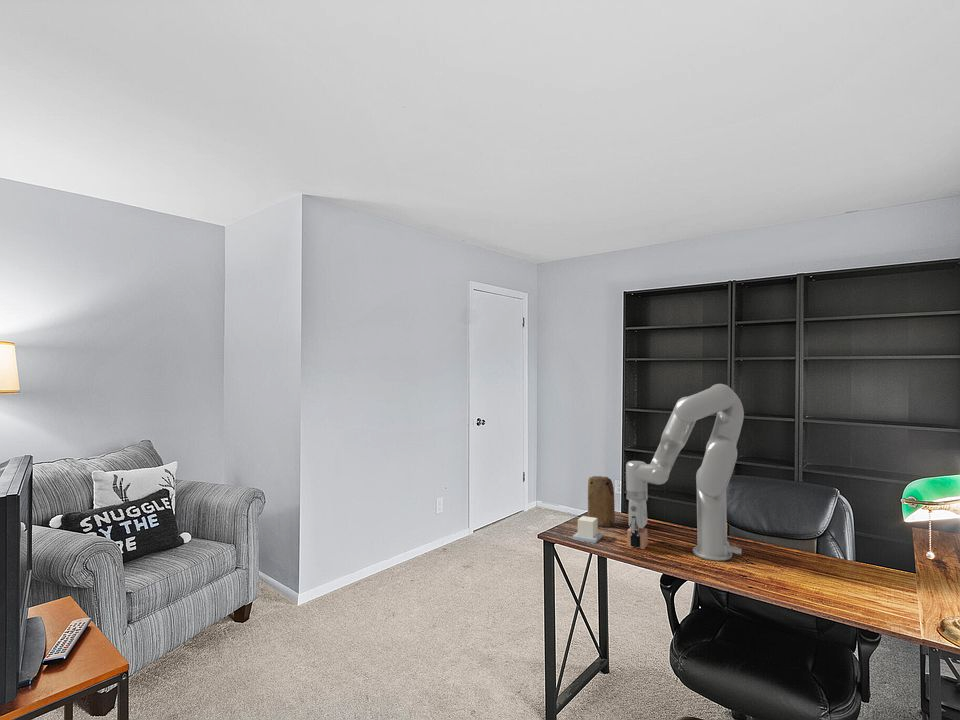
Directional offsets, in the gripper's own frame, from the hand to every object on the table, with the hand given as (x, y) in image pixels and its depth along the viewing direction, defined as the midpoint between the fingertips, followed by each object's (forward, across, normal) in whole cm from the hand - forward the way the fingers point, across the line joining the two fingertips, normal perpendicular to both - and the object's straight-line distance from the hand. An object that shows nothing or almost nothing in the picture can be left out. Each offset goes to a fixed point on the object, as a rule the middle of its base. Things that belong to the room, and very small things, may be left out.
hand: (637, 543), depth 191 cm
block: (+1, +19, +19) cm, 27 cm away
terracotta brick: (+1, 0, 0) cm, 1 cm away
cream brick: (0, 0, +19) cm, 19 cm away
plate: (+1, 0, +19) cm, 19 cm away
